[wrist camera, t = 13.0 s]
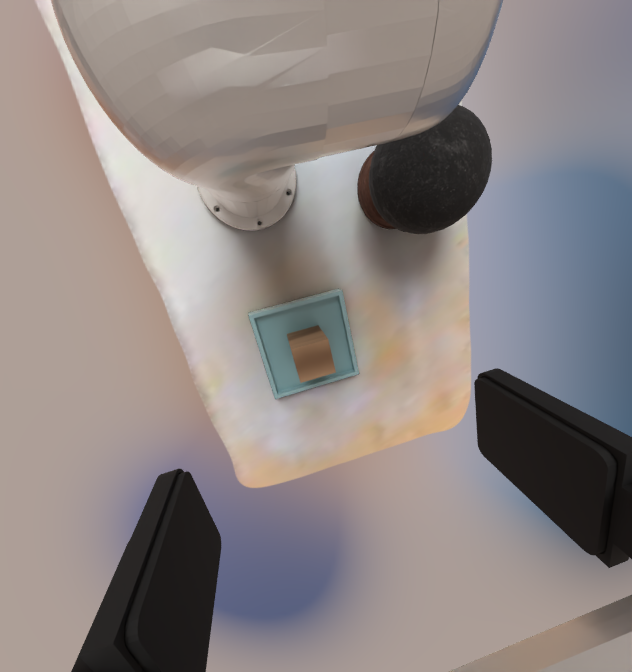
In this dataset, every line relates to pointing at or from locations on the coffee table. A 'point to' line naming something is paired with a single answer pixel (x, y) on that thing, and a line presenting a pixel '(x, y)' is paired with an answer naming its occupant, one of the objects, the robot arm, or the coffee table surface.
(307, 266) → the coffee table surface
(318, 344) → the walnut block
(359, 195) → the black ball on stand
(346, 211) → the coffee table surface
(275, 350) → the teal dish
